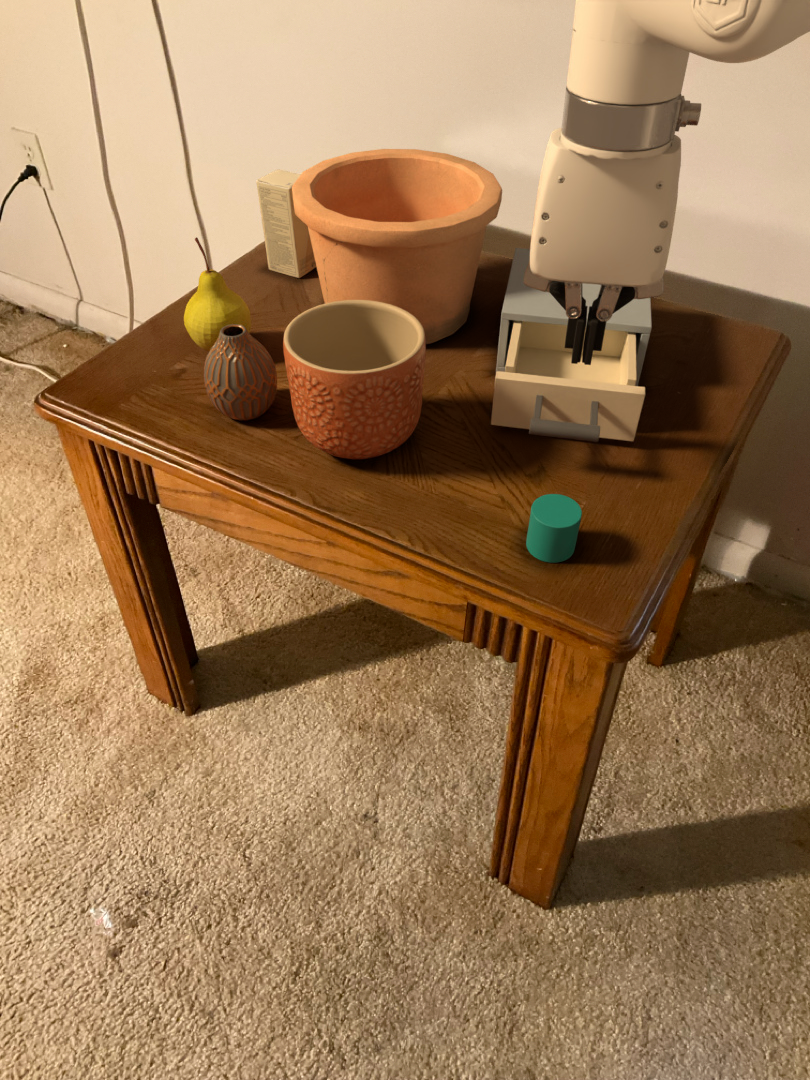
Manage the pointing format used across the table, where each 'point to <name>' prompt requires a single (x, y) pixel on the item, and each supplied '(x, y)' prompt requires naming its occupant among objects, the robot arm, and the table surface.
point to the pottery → (399, 230)
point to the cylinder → (553, 528)
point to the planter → (355, 376)
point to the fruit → (213, 308)
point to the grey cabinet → (546, 309)
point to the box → (284, 226)
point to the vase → (240, 374)
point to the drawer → (568, 386)
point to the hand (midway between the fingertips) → (581, 355)
